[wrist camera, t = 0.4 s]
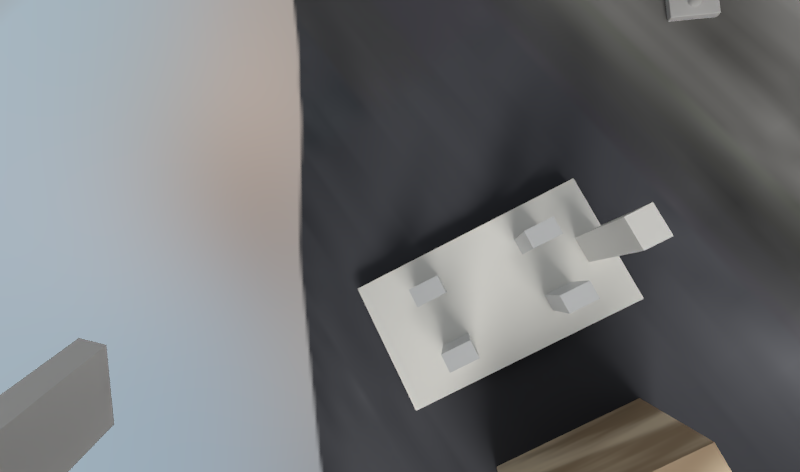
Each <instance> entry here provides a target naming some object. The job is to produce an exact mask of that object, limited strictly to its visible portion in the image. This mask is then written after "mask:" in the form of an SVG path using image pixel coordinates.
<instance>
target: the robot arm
mask: <svg viewBox="0 0 800 472" xmlns="http://www.w3.org/2000/svg"><path fill="white" fill-rule="evenodd" d="M113 425H114V419H113V408H112V398H111V389H110V378H109V369H108V358H107V349H106V345H104V344H99V343H96V342H92V341H88V340H84V339H80V338H78V339H77V340H76V341H74V342H73V343H72V344H70V345H69V346H68V347H66V348H65V349H63V350H62V351H61V352H59V353H58V354H56V355H55V356H54V357H52V358H51V359H49V360H48V361H47V362H45V363H44V364H42V365H41V366H40V367H38V368H37V369H36V370H34V371H33V372H31V373H30V374H29V375H27V376H26V377H25V378H23V379H22V380H21V381H19V382H18V383H16V384H15V385H14V386H12V387H11V388H9V389H8V390H7V391H5V392H4V393H2V394H1V395H0V472H68V471H69V470H70V469H71V468H72V467H73V466H74V465H75V464H76V463H77V462H78V461H79V460H80V459H81V458H82V457H83V456H84V455H85V454H86V453H87V452H88V450H89V449H90V448H91V447H92V446H93V445H94V444H95V443H96V442H97V441H98V440H99V439H100V438H101V437H102V436H103V435H104V434H105V433H106V432H107V431H108V430H109V429H110V428H111V427H112V426H113Z"/></svg>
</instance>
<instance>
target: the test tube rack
mask: <svg viewBox="0 0 800 472" xmlns="http://www.w3.org/2000/svg"><path fill="white" fill-rule="evenodd" d="M665 3H666V12H667V20H668V22H670V21H680V20H690V19H701V18H711V17H717V16H718V15H719V14H720V13H721V10H720V2H719V0H665Z"/></svg>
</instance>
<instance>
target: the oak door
mask: <svg viewBox="0 0 800 472" xmlns="http://www.w3.org/2000/svg"><path fill="white" fill-rule="evenodd" d="M497 471H498V472H732V471H731V470H730V468H729V466H728V465H727V463H726V461H725V459H724V458H723V456H722V454H721V453H720V451H719V449H718V447H717V446H716V444H715V442H713V441H712V440H710V439H708V438H706V437H705V436H703V435H701V434H700V433H698V432H696V431H695V430H693V429H691V428H689V427H688V426H686V425H684V424H683V423H681V422H679V421H677V420H676V419H674V418H672V417H671V416H669V415H667V414H666V413H664V412H662V411H660V410H659V409H657V408H655V407H654V406H652V405H650V404H649V403H647V402H645V401H643V400H642V399H640V398H639V399H637V400H634V401H632V402H630V403H628V404H626V405H624V406H622V407H620V408H618V409H616V410H614V411H612V412H609V413H607V414H605V415H603V416H601V417H599V418H597V419H595V420H593V421H591V422H589V423H586V424H584V425H582V426H580V427H578V428H576V429H574V430H572V431H570V432H568V433H566V434H564V435H561V436H559V437H557V438H555V439H553V440H551V441H549V442H547V443H545V444H543V445H541V446H539V447H536V448H534V449H532V450H530V451H528V452H526V453H524V454H522V455H520V456H518V457H516V458H514V459H511V460H509V461H507V462H505V463H503V464H501V465H499V466H497Z"/></svg>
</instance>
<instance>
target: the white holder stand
mask: <svg viewBox="0 0 800 472" xmlns="http://www.w3.org/2000/svg"><path fill="white" fill-rule="evenodd" d="M672 236H673V234H672V233H671V231H670V229H669V228H668V226H667V224H666V223H665V221H664V219H663V218H662V216H661V215H660V213H659V211H658V210H657V208H656V206H655V205H654V203H653V202H652V203H650V204H648V205H645V206H643V207H641V208H639V209H636V210H634V211H632V212H630V213H627V214H625V215H623V216H621V217H618V218H616V219H614V220H612V221H609V222H607V223H605V224H603V225H600V223H599V221H598V219H597V218H596V216H595V214H594V213H593V211H592V209H591V207H590V206H589V204H588V202H587V201H586V199H585V197H584V195H583V194H582V192H581V190H580V189H579V187H578V185H577V184H576V182H575V180H574V178H573V179H571V180H569V181H567V182H565V183H563V184H561V185H559V186H557V187H555V188H553V189H551V190H549V191H547V192H545V193H543V194H542V195H540V196H538V197H536V198H534V199H532V200H530V201H528V202H526V203H524V204H522V205H520V206H518V207H516V208H514V209H512V210H510V211H508V212H506V213H504V214H502V215H501V216H499V217H497V218H495V219H493V220H491V221H489V222H487V223H485V224H483V225H481V226H479V227H477V228H475V229H473V230H471V231H469V232H467V233H465V234H463V235H461V236H459V237H458V238H456V239H454V240H452V241H450V242H448V243H446V244H444V245H442V246H440V247H438V248H436V249H434V250H432V251H430V252H428V253H426V254H424V255H422V256H420V257H418V258H417V259H415V260H413V261H411V262H409V263H407V264H405V265H403V266H401V267H399V268H397V269H395V270H393V271H391V272H389V273H387V274H385V275H383V276H381V277H379V278H377V279H376V280H374V281H372V282H370V283H368V284H366V285H364V286H362V287H360V288H358V291H359V293H360V295H361V297H362V299H363V301H364V303H365V305H366V307H367V310H368V312H369V314H370V316H371V318H372V320H373V322H374V324H375V326H376V328H377V330H378V333H379V335H380V337H381V339H382V341H383V343H384V345H385V347H386V349H387V351H388V353H389V355H390V358H391V360H392V362H393V364H394V366H395V368H396V370H397V372H398V374H399V376H400V378H401V381H402V383H403V385H404V387H405V389H406V391H407V393H408V395H409V397H410V399H411V401H412V403H413V406H414V408H415V410H416V411H417V410H419V409H421V408H423V407H425V406H427V405H429V404H431V403H433V402H435V401H437V400H439V399H441V398H443V397H445V396H447V395H449V394H451V393H453V392H455V391H457V390H459V389H461V388H463V387H465V386H467V385H469V384H471V383H473V382H476V381H478V380H480V379H482V378H484V377H486V376H488V375H490V374H492V373H494V372H496V371H498V370H500V369H502V368H504V367H506V366H508V365H510V364H512V363H514V362H516V361H518V360H520V359H522V358H524V357H526V356H528V355H530V354H532V353H534V352H536V351H539V350H541V349H543V348H545V347H547V346H549V345H551V344H553V343H555V342H557V341H559V340H561V339H563V338H565V337H567V336H569V335H571V334H573V333H575V332H577V331H579V330H581V329H583V328H585V327H587V326H589V325H591V324H593V323H595V322H597V321H599V320H602V319H604V318H606V317H608V316H610V315H612V314H614V313H616V312H618V311H620V310H622V309H624V308H626V307H628V306H630V305H632V304H634V303H636V302H638V301H640V300H642V299H644V298H643V296H642V295H641V293H640V291H639V289H638V288H637V286H636V284H635V283H634V281H633V279H632V278H631V276H630V274H629V272H628V271H627V269H626V267H625V266H624V264H623V262H622V260H621V259H620V257H619V256H621V255H626V254H630V253H635V252H640V251H644V250H646V249H648V248H650V247H652V246H654V245H656V244H658V243H660V242H662V241H664V240H666V239H668V238H670V237H672Z"/></svg>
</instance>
